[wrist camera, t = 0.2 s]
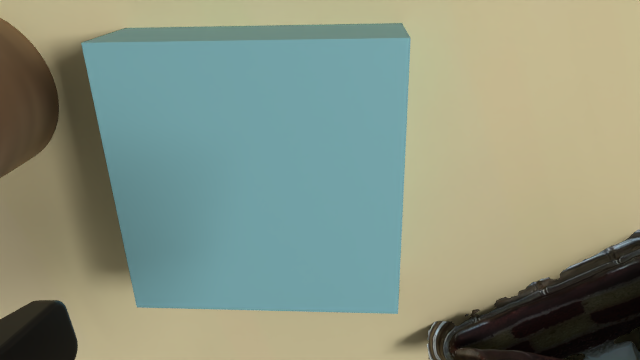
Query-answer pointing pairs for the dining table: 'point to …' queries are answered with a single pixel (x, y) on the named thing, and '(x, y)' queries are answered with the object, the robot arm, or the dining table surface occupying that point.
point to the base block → (257, 163)
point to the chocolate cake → (556, 315)
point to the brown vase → (24, 100)
